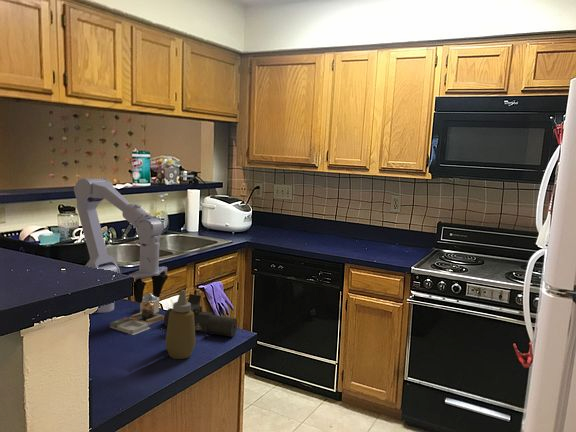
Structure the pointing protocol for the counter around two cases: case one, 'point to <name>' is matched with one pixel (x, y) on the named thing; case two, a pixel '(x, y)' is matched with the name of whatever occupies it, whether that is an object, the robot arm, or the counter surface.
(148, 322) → the tan square tray
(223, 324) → the laser sight
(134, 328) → the cradle
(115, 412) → the counter surface
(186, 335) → the squeeze bottle
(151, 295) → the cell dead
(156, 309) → the cup
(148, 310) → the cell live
